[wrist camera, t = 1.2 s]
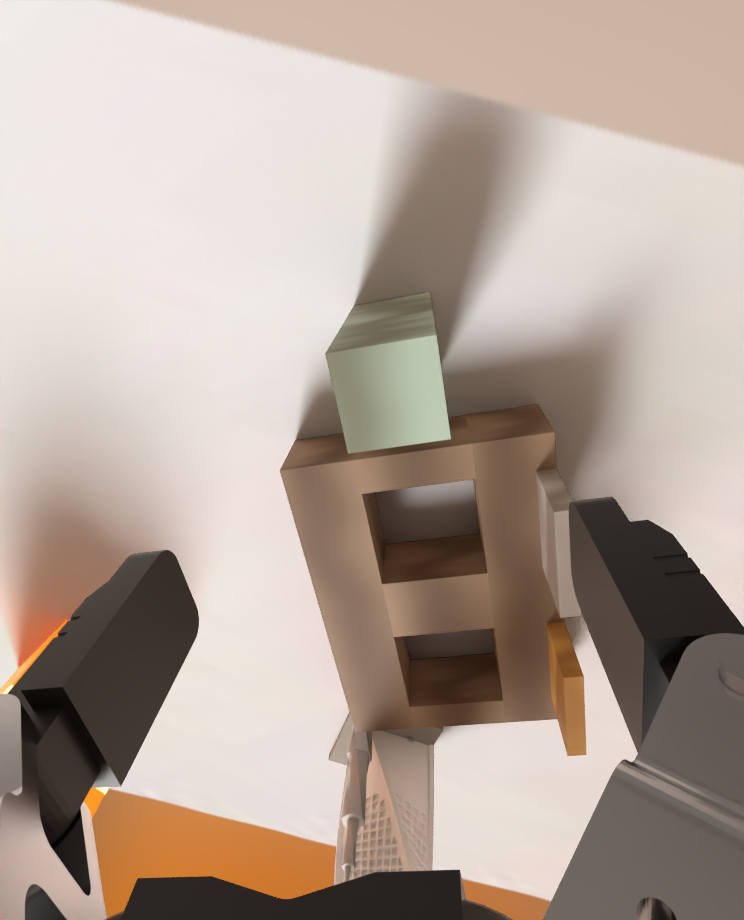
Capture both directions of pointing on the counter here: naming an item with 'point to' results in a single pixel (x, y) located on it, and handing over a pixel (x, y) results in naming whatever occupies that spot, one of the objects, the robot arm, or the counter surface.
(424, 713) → the socket block
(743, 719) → the robot arm
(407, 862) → the skyscraper
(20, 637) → the counter surface
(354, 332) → the green plug
